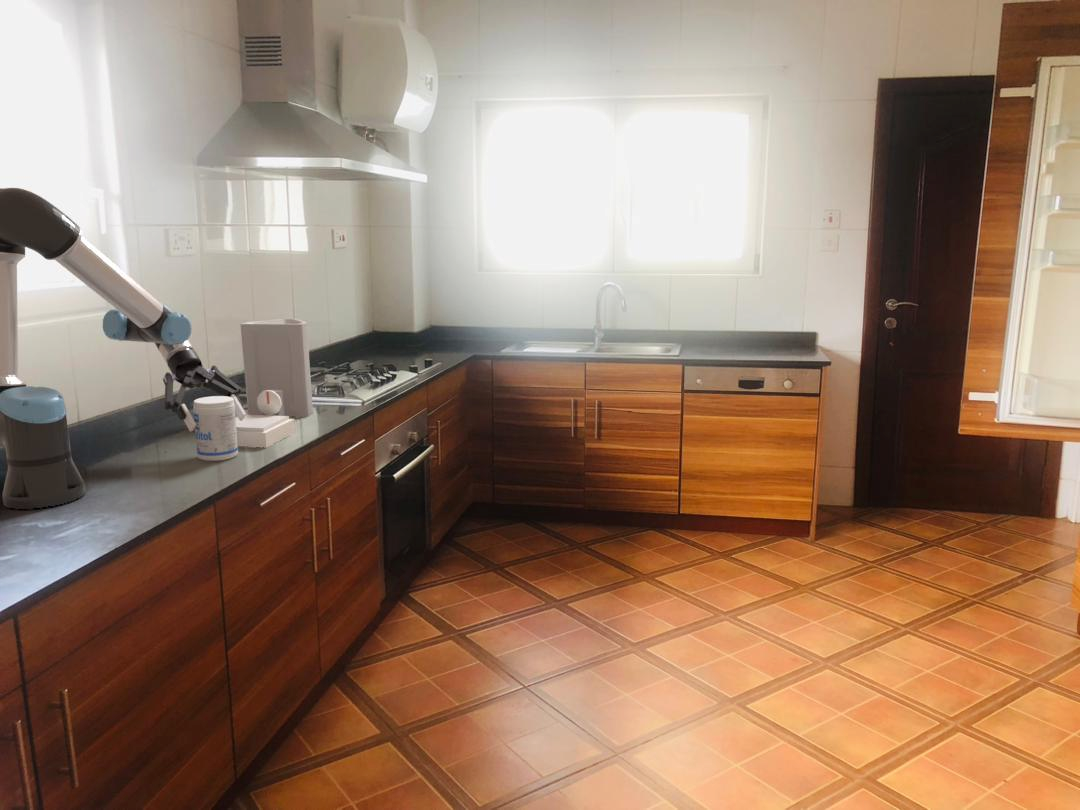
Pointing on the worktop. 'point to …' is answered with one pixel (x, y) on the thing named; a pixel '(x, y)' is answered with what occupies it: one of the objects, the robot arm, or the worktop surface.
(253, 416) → the kitchen scale
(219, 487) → the worktop surface
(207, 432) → the supplement tub
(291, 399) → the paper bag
